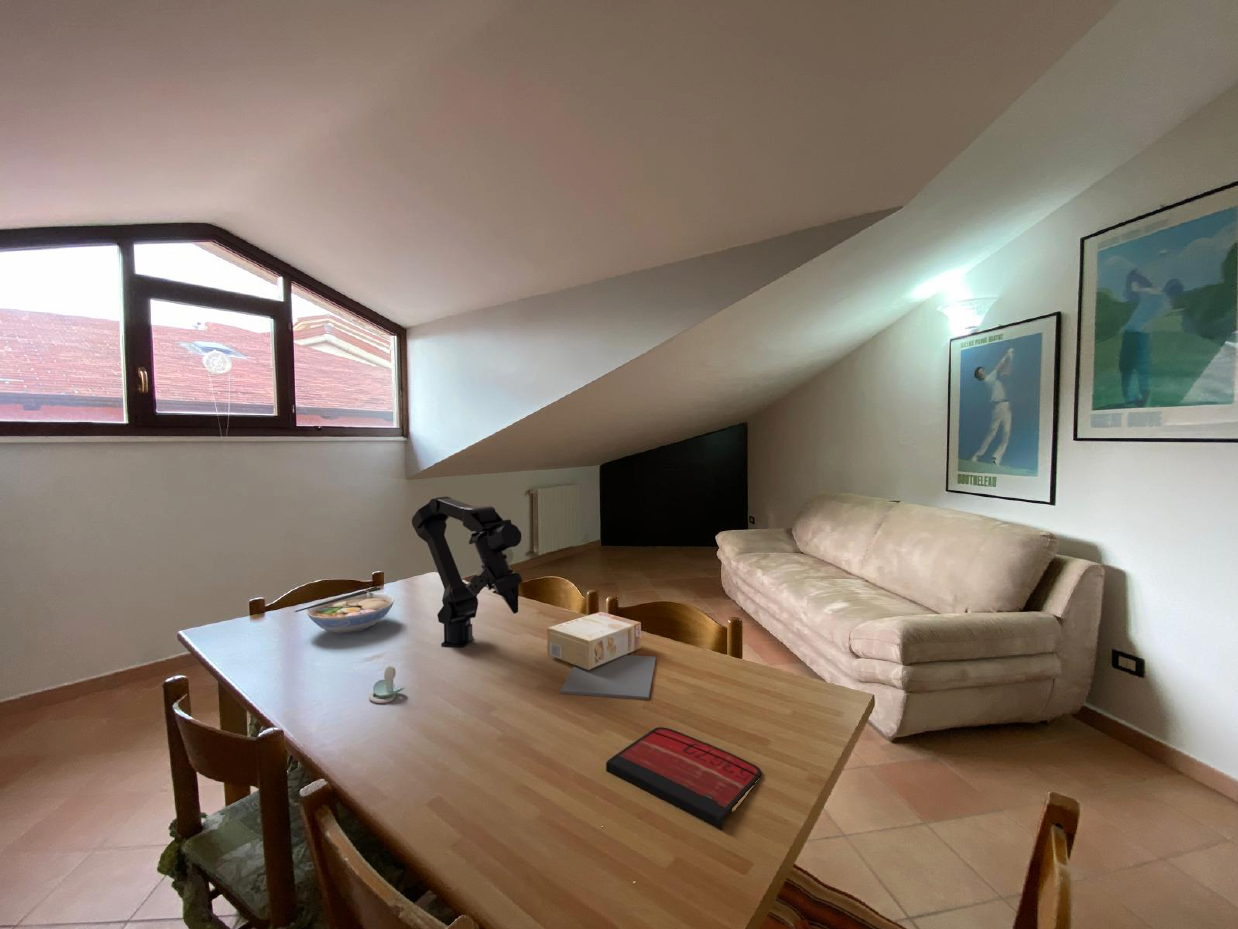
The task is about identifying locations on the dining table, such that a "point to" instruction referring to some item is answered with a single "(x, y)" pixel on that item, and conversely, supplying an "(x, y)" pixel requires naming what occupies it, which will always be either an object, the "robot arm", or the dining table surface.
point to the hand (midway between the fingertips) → (515, 613)
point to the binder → (685, 773)
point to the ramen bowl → (350, 611)
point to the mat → (613, 678)
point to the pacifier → (385, 687)
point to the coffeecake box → (593, 639)
